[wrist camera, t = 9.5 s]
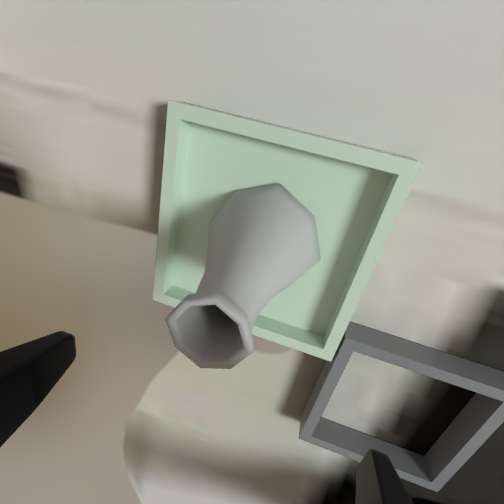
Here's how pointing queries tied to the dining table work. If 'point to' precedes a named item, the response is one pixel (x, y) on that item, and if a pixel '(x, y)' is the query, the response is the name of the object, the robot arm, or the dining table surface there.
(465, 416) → the socket
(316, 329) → the tray
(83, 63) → the dining table surface
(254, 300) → the flask
